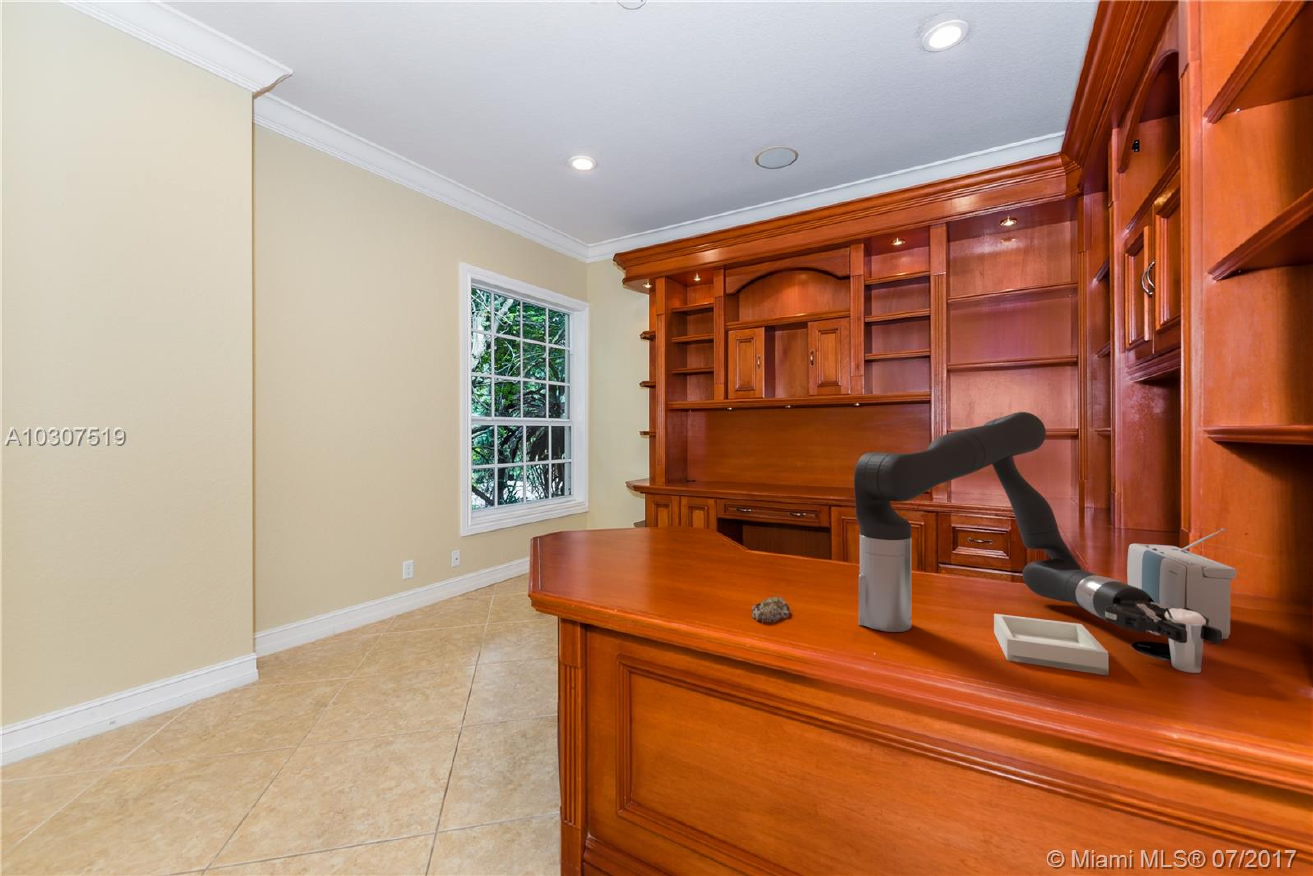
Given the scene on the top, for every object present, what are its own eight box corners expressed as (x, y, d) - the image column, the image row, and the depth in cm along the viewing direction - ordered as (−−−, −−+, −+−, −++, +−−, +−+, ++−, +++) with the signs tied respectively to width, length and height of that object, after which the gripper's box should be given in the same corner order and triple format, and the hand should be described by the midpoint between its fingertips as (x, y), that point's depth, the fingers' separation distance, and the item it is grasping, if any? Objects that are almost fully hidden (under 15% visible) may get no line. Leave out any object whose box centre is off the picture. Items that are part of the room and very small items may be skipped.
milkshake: (1153, 663, 84) (1151, 602, 84) (1183, 660, 85) (1181, 599, 85) (1184, 677, 80) (1182, 612, 80) (1216, 673, 80) (1214, 609, 80)
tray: (1007, 660, 86) (1007, 639, 86) (994, 632, 98) (994, 613, 98) (1108, 675, 80) (1108, 652, 80) (1081, 644, 92) (1081, 624, 92)
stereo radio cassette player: (1125, 602, 114) (1125, 510, 114) (1174, 606, 111) (1174, 512, 111) (1179, 637, 95) (1180, 527, 95) (1240, 644, 92) (1241, 530, 92)
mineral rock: (757, 594, 115) (792, 589, 111) (762, 613, 114) (798, 610, 110) (738, 610, 105) (776, 606, 101) (744, 632, 105) (782, 628, 101)
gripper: (1071, 579, 97) (1151, 611, 80) (1154, 581, 96) (1253, 613, 79) (1071, 620, 97) (1151, 660, 80) (1154, 622, 96) (1253, 663, 79)
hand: (1201, 637), depth 80 cm, fingers closed on milkshake, 4 cm apart
